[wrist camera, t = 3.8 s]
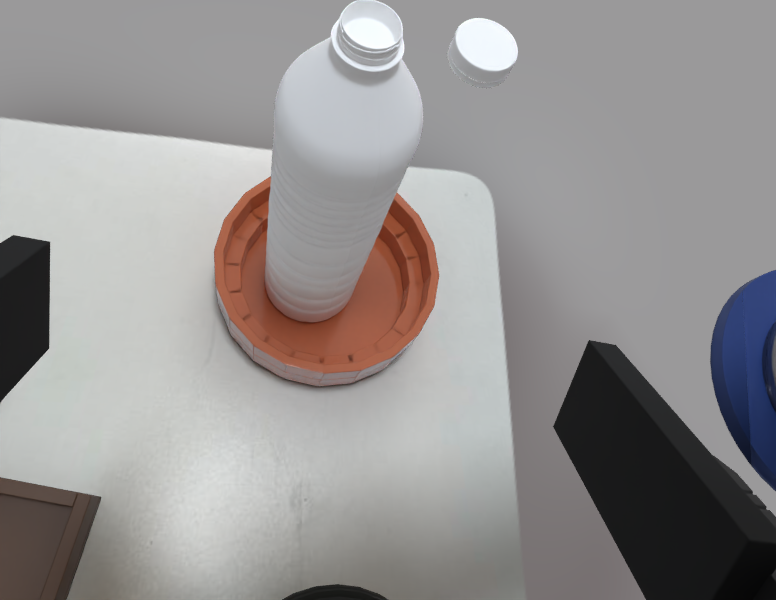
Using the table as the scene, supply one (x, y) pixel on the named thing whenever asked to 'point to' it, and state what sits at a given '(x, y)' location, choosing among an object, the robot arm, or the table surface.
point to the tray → (41, 539)
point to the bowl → (347, 328)
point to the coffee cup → (335, 593)
